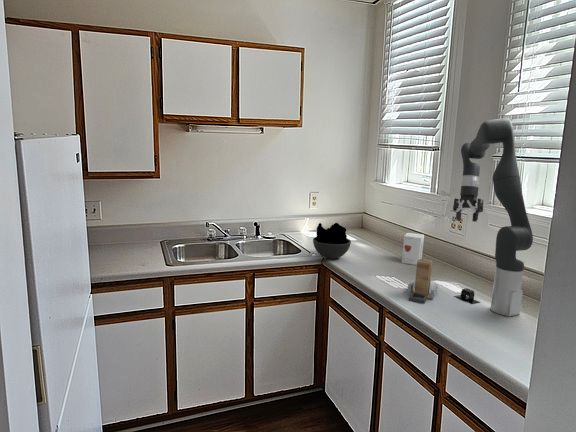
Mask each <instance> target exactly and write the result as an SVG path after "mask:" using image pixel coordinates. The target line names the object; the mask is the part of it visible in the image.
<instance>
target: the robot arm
mask: <svg viewBox="0 0 576 432" xmlns="http://www.w3.org/2000/svg"><path fill="white" fill-rule="evenodd" d="M501 143H502V148H503V149H502V155H501V157H500V160H499V162H498V164H497V165H496V167H495V169H494V172H493V174H492V183H493V184H492V185H493V190H494V194H495V196H496V198H497V200H498V201H499V202H500V204H501V206H502V207H503V208H504V209H505V211H506V213H507V214H508V217H509V221H510V225H508V226H502V227H500V228H499V230H498V232H497V233H496V237H495V238H496V239H495V251H494V258H495V259H494V260H495V263H496V264H495V271H494V277H493V278H494V279H493V287H492V291H491V292H492V294H491V301H490V311H492V312H494V313H495V314H498V315H502V316H506V317H514V316H519V315H520V313H521V307H522V300H523V295H524V290H523V289H522V283H523V275H524V269H525V263H524V262H523V261H522V260H520V259H517V252H520V251H521V252H522V251H527V250H529V249H530V248H531V247H532V245H533V241H534V239H533V238H534V235H533V230H532V227H531V224H530V220H529V216H528V214H527V209H526V205H525V200H524V196H523V195H524V194H523V190H522V189H523V188H522V182H521V177H520V172H519V167H518V162H517V155H516V145H515V133H514V126H513V123H512V121H511V119H510V118H508V117H503V118H496V119H488V120H486V121H483V122H481V124H480V126H479V128H478V130H477V134H476V136H475V138H474V139H473V140H472V141H471V142H465V143H463V144H462V145H461V148H460V154H461V158H462V166H463V170H462V178H461V181H460V183H461V184H460V193H459V195H460V198H457V197H455V198H454V200H453V206H452V211H454V212H455V214H456V215H455V219H456V221H459V222H460V221H461V220H462V212H463V211H464V210H465V209H471V210H472V212H473V213H472V222H478V219H479V214H480V213H483V212H484V199H483V198H478V196H479V190H480V189H479V186H480V171H481V168H480V167H481V166H480V164H478V163H476V162H473V161H471V160H470V159H472V160H474V159H475V160H479V159H481V160H482V159H483V158H484V157H485V155H486V151H487V150H489V148H490V146H491V145H494V144H501Z"/></svg>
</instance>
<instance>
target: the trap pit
mask: <svg viewBox="0 0 576 432" xmlns="http://www.w3.org/2000/svg"><path fill="white" fill-rule="evenodd" d="M427 297H428V295H423V294H418V293H412V294H411V295H409V296H408V301H411V302H413V303H414V302H415V303H417V304H418V303H419V304H423V305H425V303H426V302H427V300H428V299H427Z"/></svg>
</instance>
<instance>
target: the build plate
mask: <svg viewBox="0 0 576 432" xmlns="http://www.w3.org/2000/svg"><path fill="white" fill-rule="evenodd" d="M453 297H454V298H456V299H458V300H461V301H463V302H465V303H468V304H470V305H476V304H481V303H482V302H481V301H479V300H476V299H475V290H472V289H470V288H468V287H466V288H462V289H461V291H460V294H459V295H453Z"/></svg>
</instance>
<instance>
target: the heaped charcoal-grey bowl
mask: <svg viewBox="0 0 576 432" xmlns="http://www.w3.org/2000/svg"><path fill="white" fill-rule="evenodd" d="M346 232H347V228H346V227H344V226H342V225H340V223H338V222H335V223H333V224H331V226H330V227H327V228H324V226H323V225H322V223H321V222H319V223H318V225H317V227H316V236H315V237H313V238H312V243H313V247H314V249H315V251H316V252H317V253H318V254H319V255H320V256H321V257H324V258H326V259H330V260H335V259H338V258H341V257H343V256H344V255H345V254H347V252H348V251H349V249H350V246H351V245H352V244H351V243H352V240H350V239H349V238H347V237H348V235H347V233H346Z"/></svg>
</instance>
